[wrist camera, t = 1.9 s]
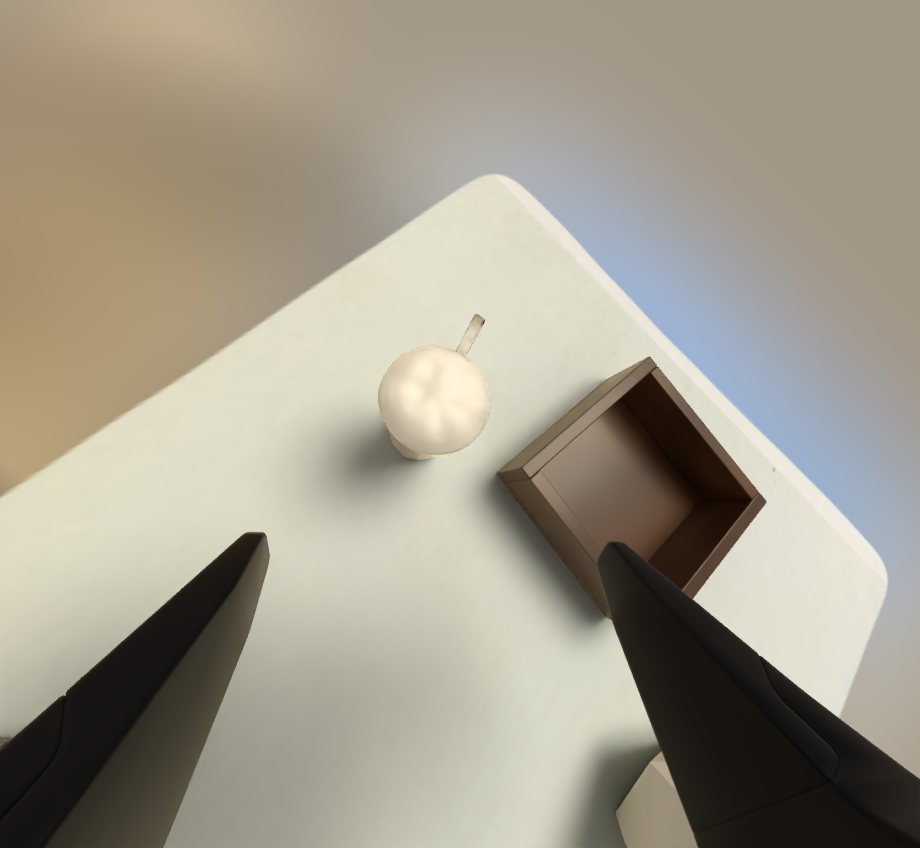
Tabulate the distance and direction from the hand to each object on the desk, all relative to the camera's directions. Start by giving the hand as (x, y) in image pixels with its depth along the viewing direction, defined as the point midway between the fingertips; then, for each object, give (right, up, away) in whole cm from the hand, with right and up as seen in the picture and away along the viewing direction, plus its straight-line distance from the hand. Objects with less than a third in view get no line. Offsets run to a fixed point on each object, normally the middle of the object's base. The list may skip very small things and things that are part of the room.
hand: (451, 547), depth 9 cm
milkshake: (-2, +3, +13) cm, 13 cm away
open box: (+11, -1, +15) cm, 18 cm away
